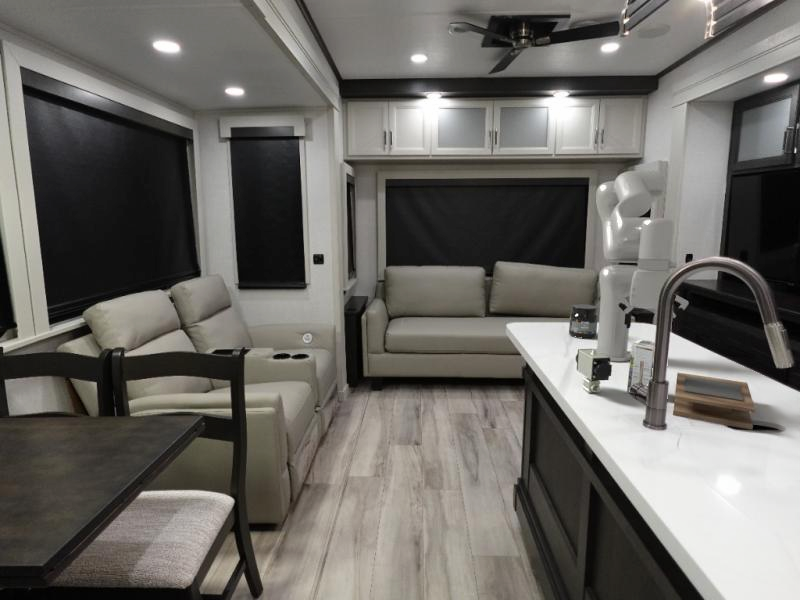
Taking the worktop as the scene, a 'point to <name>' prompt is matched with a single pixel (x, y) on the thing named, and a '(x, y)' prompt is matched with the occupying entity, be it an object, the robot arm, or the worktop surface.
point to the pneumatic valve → (593, 368)
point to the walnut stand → (713, 400)
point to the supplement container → (583, 321)
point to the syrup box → (641, 352)
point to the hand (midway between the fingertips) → (648, 329)
